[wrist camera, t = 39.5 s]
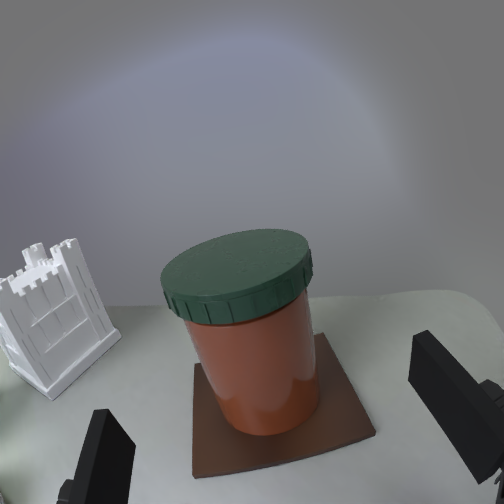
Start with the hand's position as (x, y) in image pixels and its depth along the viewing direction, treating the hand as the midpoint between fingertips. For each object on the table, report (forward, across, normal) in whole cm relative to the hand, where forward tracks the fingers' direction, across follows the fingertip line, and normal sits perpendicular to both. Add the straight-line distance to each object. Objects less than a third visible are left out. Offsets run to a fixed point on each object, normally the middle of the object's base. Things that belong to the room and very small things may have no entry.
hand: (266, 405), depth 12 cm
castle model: (+25, -28, -12) cm, 39 cm away
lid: (+11, 0, +2) cm, 11 cm away
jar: (+11, 0, -11) cm, 15 cm away
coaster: (+11, 0, -12) cm, 16 cm away
